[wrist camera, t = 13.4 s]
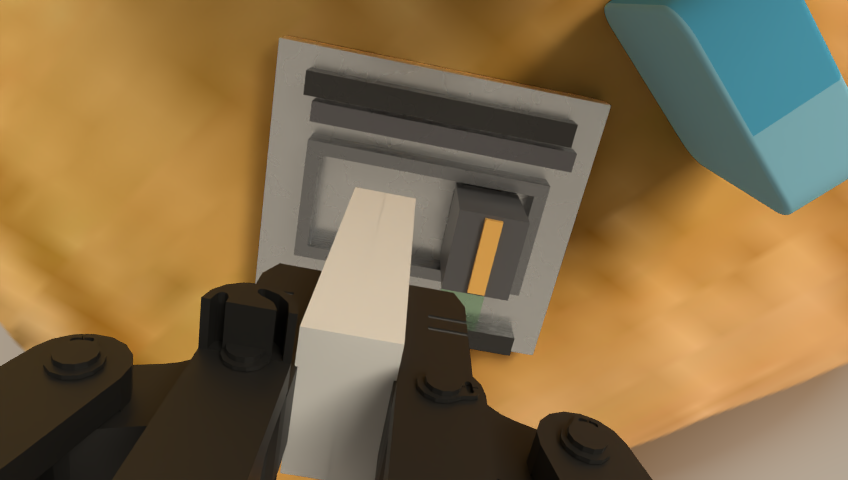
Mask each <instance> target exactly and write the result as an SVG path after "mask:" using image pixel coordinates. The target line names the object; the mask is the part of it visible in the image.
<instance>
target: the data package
mask: <svg viewBox="0 0 848 480" xmlns="http://www.w3.org/2000/svg"><path fill="white" fill-rule="evenodd" d="M604 12H605V16H606V19H607V21H608V23H609V25H610V27H611V28H612V30H613V32H614V33H615V35H616V36H617V38H618V40H619V41H620V43H621V45H622V46H623V48H624V49H625V51H626V53H627V54H628V56H629V57H630V59H631V61H632V62H633V64H634V66H635V67H636V69H637V70H638V72H639V74H640V75H641V77H642V78H643V80H644V82H645V83H646V85H647V86H648V88H649V90H650V91H651V93H652V95H653V96H654V98H655V99H656V101H657V103H658V104H659V106H660V107H661V109H662V111H663V112H664V114H665V116H666V117H667V119H668V120H669V122H670V124H671V125H672V127H673V128H674V130H675V132H676V133H677V135H678V137H679V138H680V140H681V141H682V143H683V144H684V146H685V147H686V149H687V150H688V151H689V153H690V154H691V155H692V156H693V157H694V158H695V160H696V161H697V162H699V163H700V164H701V165H702V166H704V167H706V168H707V169H709V170H710V171H712V172H714V173H715V174H717V175H718V176H720V177H722V178H723V179H725V180H726V181H728V182H730V183H731V184H733V185H734V186H736V187H738V188H739V189H741V190H742V191H744V192H746V193H747V194H749V195H750V196H752V197H754V198H755V199H757V200H758V201H760V202H762V203H763V204H765V205H766V206H768V207H770V208H771V209H773V210H774V211H776V212H778V213H780V214H782V215H789V214H791V213H793V212H794V211H796V210H798V209H799V208H801V207H803V206H804V205H806V204H808V203H809V202H811V201H813V200H814V199H816V198H817V197H819V196H821V195H822V194H824V193H826V192H827V191H829V190H831V189H832V188H834V187H835V186H837V185H839V184H840V183H842V182H844V181H845V180H847V179H848V87H847V85H846V83H845V81H844V79H843V77H842V75H841V73H840V71H839V69H838V67H837V65H836V63H835V61H834V59H833V57H832V55H831V53H830V51H829V49H828V47H827V45H826V43H825V41H824V39H823V37H822V35H821V33H820V31H819V29H818V27H817V25H816V23H815V21H814V19H813V17H812V15H811V13H810V11H809V9H808V7H807V5H806V3H805V1H804V0H611V1H610V2H609V3H607V4H606V6H605V8H604Z"/></svg>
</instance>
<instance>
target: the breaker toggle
mask: <svg viewBox="0 0 848 480" xmlns="http://www.w3.org/2000/svg"><path fill="white" fill-rule="evenodd" d="M529 225H530V222H529V219H528V217H527V215H526V213H525V210H524V208H523V206H522V203H521V201H520V199H519V196H518V195H516V194H510V193H505V192H500V191H495V190H490V189H484V188H479V187H474V186H469V185H464V184H458V183H456V186H455V191H454V195H453V199H452V204H451V208H450V213H449V217H448V222H447V226H446V230H445V235H444V239H443V244H442V248H441V252H440V266H441V289H445V290H450V291H456V292H462V293H467V294H473V295H478V296H484V297H489V298H495V299H500V300H506V301H508V299H509V295H510V292H511V288H512V285H513V281H514V278H515V274H516V270H517V267H518V263H519V260H520V256H521V253H522V249H523V246H524V242H525V239H526V235H527V232H528V228H529Z"/></svg>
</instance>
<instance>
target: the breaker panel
mask: <svg viewBox="0 0 848 480" xmlns="http://www.w3.org/2000/svg"><path fill="white" fill-rule="evenodd" d="M610 108H611V105H609V104H608V103H606V102H605V101H603V100H599V99H594V98H590V97H585V96H580V95H575V94H570V93H565V92H560V91H555V90H551V89H546V88H541V87H536V86H531V85H526V84H521V83H516V82H512V81H507V80H502V79H497V78H492V77H487V76H482V75H477V74H473V73H468V72H463V71H458V70H453V69H448V68H443V67H438V66H434V65H429V64H424V63H419V62H414V61H409V60H404V59H399V58H395V57H390V56H385V55H380V54H375V53H370V52H365V51H360V50H356V49H351V48H346V47H341V46H336V45H331V44H326V43H321V42H317V41H312V40H307V39H302V38H297V37H292V36H283V37H279V45H278V55H277V65H276V76H275V86H274V96H273V106H272V117H271V127H270V137H269V148H268V158H267V168H266V179H265V189H264V199H263V209H262V220H261V230H260V240H259V251H258V261H257V271H256V282H255V284H256V283H257V281H258V279H259V278H260V276H261V274H262V273H263V272H265V271H266V270H268V269H270V268H272V267H274V266H276V265H277V264H279V263H282V264H287V265H293V266H298V267H304V268H309V269H315V270H320V271H322V270H323V267H324V265H325V262H326V260H327V257H328V255H329V252H330V250H331V247H332V245H333V242H334V240H335V237H336V235H337V232H338V230H339V227H340V225H341V222H342V220H343V217H344V215H345V212H346V209H347V207H348V204H349V202H350V199H351V197H352V194H353V192H354V189H355V187H357V188H363V189H368V190H373V191H378V192H384V193H389V194H394V195H399V196H405V197H410V198H415V199H416V202H415V215H414V228H413V241H412V253H411V266H410V279H409V285H414V286H419V287H425V288H430V289H436V290H441V291H447V292H452V293H454V294H455V295H456V296H457V298H458V299H459V300H460V301H461V303H462V304H463V305H464V306H465V312H466V321H467V322H466V324H467V330H468V335H467V336H468V340H469V349H475V350H480V351H486V352H492V353H497V354H503V355H509V356H510V352H511V351H512V352H517V353H523V354H529V355H533V352H534V349H535V346H536V343H537V340H538V337H539V333H540V330H541V327H542V324H543V321H544V317H545V314H546V311H547V308H548V305H549V302H550V298H551V295H552V292H553V289H554V286H555V282H556V279H557V276H558V273H559V270H560V267H561V263H562V260H563V257H564V254H565V251H566V247H567V244H568V241H569V238H570V235H571V232H572V228H573V225H574V222H575V219H576V216H577V212H578V209H579V206H580V203H581V200H582V197H583V193H584V190H585V187H586V184H587V181H588V178H589V174H590V171H591V168H592V165H593V162H594V158H595V155H596V152H597V149H598V146H599V143H600V139H601V136H602V133H603V130H604V127H605V123H606V120H607V117H608V114H609V111H610ZM456 183H458V184H464V185H469V186H474V187H479V188H484V189H490V190H495V191H500V192H505V193H510V194H516V195H518V196H519V199H520V201H521V203H522V206H523V208H524V210H525V213H526V215H527V217H528V219H529V222H530V225H529V228H528V232H527V235H526V239H525V242H524V246H523V249H522V253H521V256H520V260H519V263H518V267H517V270H516V274H515V278H514V281H513V285H512V288H511V292H510V295H509V299H508V301H506V300H500V299H495V298H489V297H484V296H478V295H473V294H467V293H462V292H456V291H450V290H445V289H441V266H440V252H441V248H442V244H443V239H444V235H445V230H446V226H447V222H448V217H449V213H450V208H451V204H452V199H453V195H454V191H455V186H456Z"/></svg>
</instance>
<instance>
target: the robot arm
mask: <svg viewBox="0 0 848 480" xmlns="http://www.w3.org/2000/svg"><path fill="white" fill-rule="evenodd" d="M415 202H416V199H415V198H410V197H405V196H399V195H394V194H389V193H384V192H378V191H373V190H368V189H363V188H357V187H355V189H354V192H353V194H352V197H351V199H350V202H349V204H348V207H347V209H346V212H345V215H344V217H343V220H342V222H341V225H340V227H339V230H338V232H337V235H336V237H335V240H334V242H333V245H332V247H331V250H330V252H329V255H328V257H327V260H326V262H325V265H324V267H323V270H322V271H320V270H315V269H309V268H304V267H298V266H293V265H287V264H282V263H279V264H277V265H276V266H274V267H272V268H270V269H268V270H266V271H265V272H263V273H262V274H261V276H260V278H259V279H258V281H257V283H256V284H255V283H236V284H226V285H223V286H220V287H217V288H215V289H212V290H210V291H209V292H208V293H206V294H205V295H204V296H203V297H201V312H200V329H199V346H198V349H197V351H196V352H195V354H194V356H193V357H192V359H191V360H187V361H183V362H178V363H168V364H148V365H133V354H132V353H131V351H130V350H129V348H128V347H127V345H126V344H124V343H122V342H120V341H118V340H116V339H114V338H112V337H107V336H101V335H96V334H76V335H69V336H64V337H59V338H55V339H51V340H49V341H46V342H44V343H42V344H39V345H37V346H35V347H32V348H31V349H29V350H27V351H26V352H24V353H22V354H20V355H19V356H17V357H15V358H14V359H12V360H10V361H8V362H7V363H5V364H3V365H2V366H0V480H276V477H277V473H278V470H279V466H280V463H281V460H282V464H281V472H280V473H284V474H290V475H296V476H303V477H309V478H315V479H322V480H652V479H651V477H650V476H649V474H648V473H647V472H646V470H645V469H644V468H643V466H642V465H641V464H640V462H639V461H638V459H637V458H636V457H635V455H634V454H633V452H632V451H631V450H630V448H629V447H628V446H627V444H626V443H625V442H624V441H623V440H622V439H621V438H620V437H619V436H618V435H617V434H616V433H615V432H614V431H613V430H611V429H610V428H608V427H607V426H605V425H604V424H602V423H601V422H599V421H597V420H595V419H592V418H589V417H587V416H584V415H582V414H576V413H569V412H559V413H552V414H549V415H547V416H546V417H545V418H543V419H542V420H540V423H539V426H538V428H537V430H536V429H534V428H531V427H529V426H526V425H524V424H521V423H519V422H516V421H514V420H512V419H510V418H507V417H505V416H503V415H501V414H500V413H498V412H497V411H495V410H494V409H492V408H491V407H489V406H488V405H487V400H486V395H485V393H484V390H483V388H482V386H481V384H480V383H479V382H478V381H477V380H476V379H475V378H474V377H472V367H471V358H470V349H469V340H468V336H467V335H468V330H467V324H466V322H467V321H466V312H465V306H464V305H463V304H462V303H461V301H460V300H459V299H458V298H457V296H456V295H455V294H454V293H452V292H447V291H441V290H436V289H430V288H425V287H419V286H414V285H409V279H410V266H411V253H412V241H413V228H414V215H415Z"/></svg>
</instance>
